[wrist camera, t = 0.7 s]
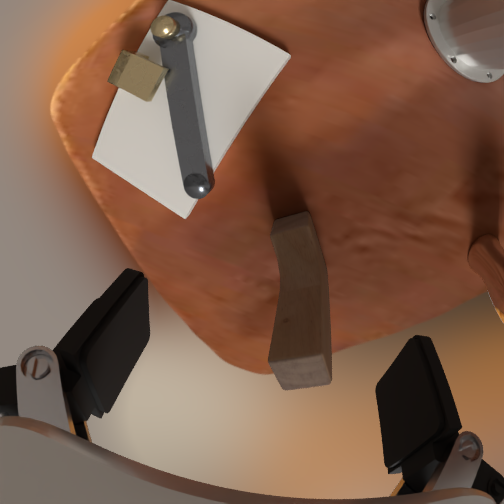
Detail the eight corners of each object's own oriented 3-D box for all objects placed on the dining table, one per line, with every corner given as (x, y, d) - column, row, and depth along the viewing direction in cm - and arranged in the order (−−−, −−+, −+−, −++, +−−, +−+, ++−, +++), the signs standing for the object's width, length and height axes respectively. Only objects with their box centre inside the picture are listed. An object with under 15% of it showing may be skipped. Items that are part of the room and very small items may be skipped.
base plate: (174, 2, 23) (168, -1, 22) (291, 56, 26) (290, 54, 24) (98, 155, 35) (91, 157, 34) (189, 214, 37) (185, 219, 36)
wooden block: (273, 219, 35) (243, 320, 20) (308, 209, 34) (307, 309, 18) (295, 279, 39) (282, 392, 23) (327, 271, 37) (332, 385, 22)
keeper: (161, 16, 23) (142, 7, 19) (203, 32, 24) (187, 23, 20) (125, 81, 28) (102, 81, 24) (162, 100, 29) (142, 102, 25)
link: (159, 22, 24) (150, 19, 22) (195, 11, 23) (188, 7, 21) (187, 195, 34) (180, 200, 32) (222, 191, 33) (217, 197, 31)
